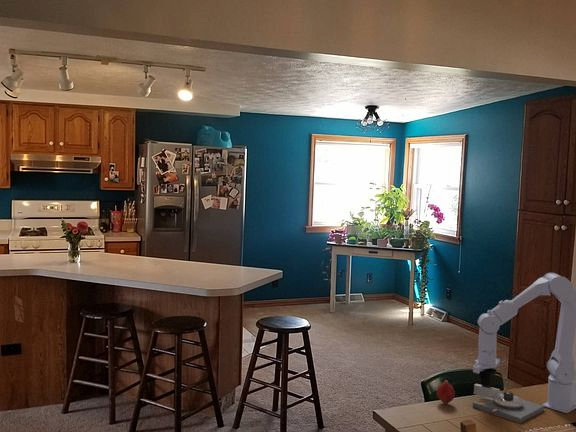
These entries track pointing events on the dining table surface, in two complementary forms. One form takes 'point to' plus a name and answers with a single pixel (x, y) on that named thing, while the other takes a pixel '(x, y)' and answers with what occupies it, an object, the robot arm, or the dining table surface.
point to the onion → (445, 392)
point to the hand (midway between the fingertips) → (485, 389)
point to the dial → (499, 396)
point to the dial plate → (511, 414)
